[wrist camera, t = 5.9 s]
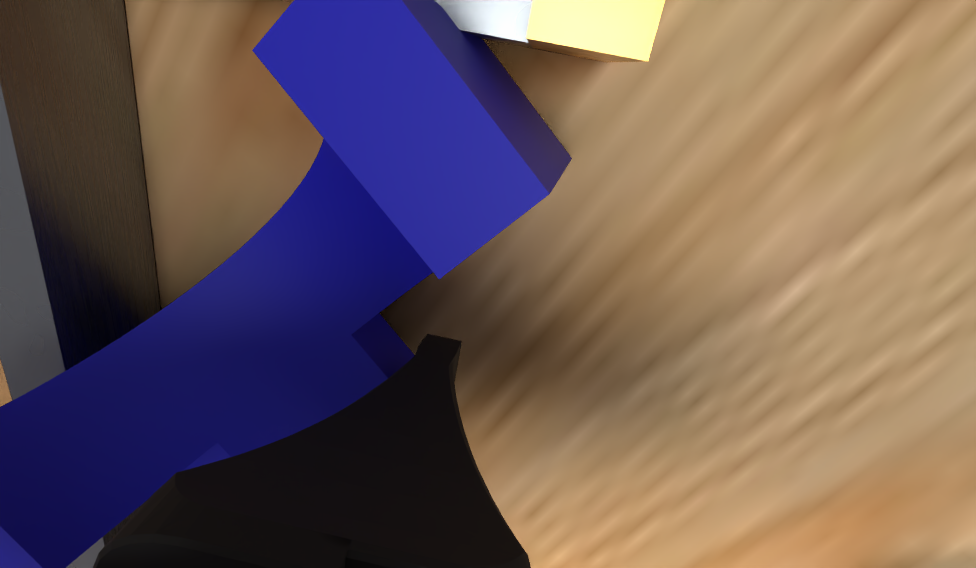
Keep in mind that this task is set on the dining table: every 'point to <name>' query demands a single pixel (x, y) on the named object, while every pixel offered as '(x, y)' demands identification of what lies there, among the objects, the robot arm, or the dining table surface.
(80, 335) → the keeper cradle
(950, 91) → the dining table surface
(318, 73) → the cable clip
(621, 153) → the dining table surface
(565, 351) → the dining table surface
